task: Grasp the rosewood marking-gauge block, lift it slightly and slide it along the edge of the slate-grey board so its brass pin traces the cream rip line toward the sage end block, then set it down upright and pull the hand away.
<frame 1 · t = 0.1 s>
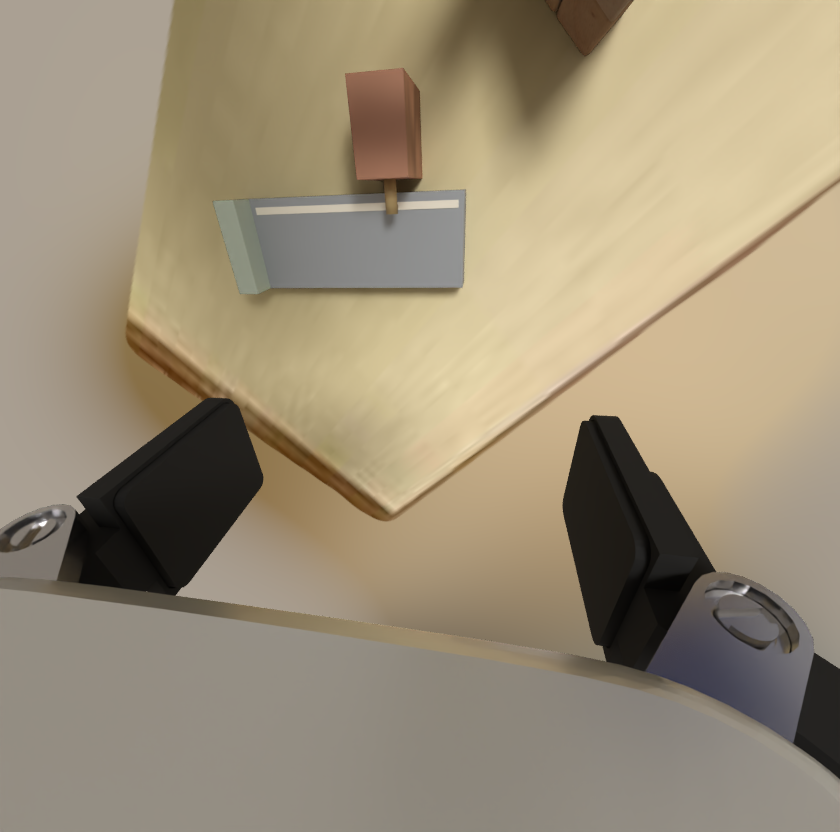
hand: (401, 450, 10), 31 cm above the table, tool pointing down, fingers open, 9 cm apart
gauge block: (398, 138, 32), on the table
grey board: (355, 241, 36), on the table
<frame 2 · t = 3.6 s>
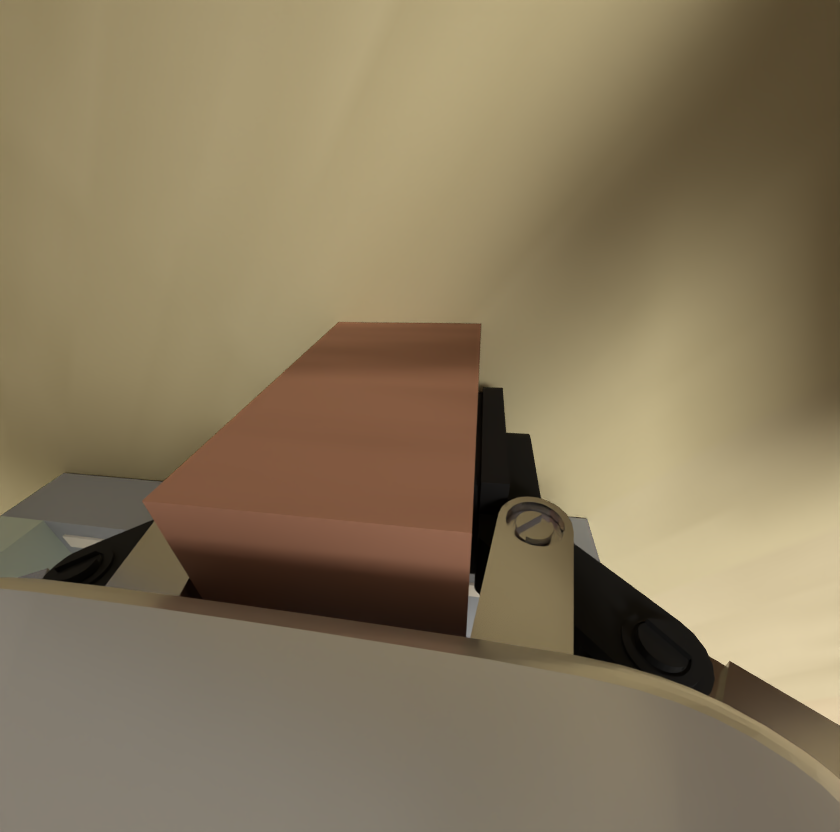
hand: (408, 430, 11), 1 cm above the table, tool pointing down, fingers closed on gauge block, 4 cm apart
gauge block: (413, 415, 12), on the table, touching gripper
grey board: (314, 557, 17), on the table
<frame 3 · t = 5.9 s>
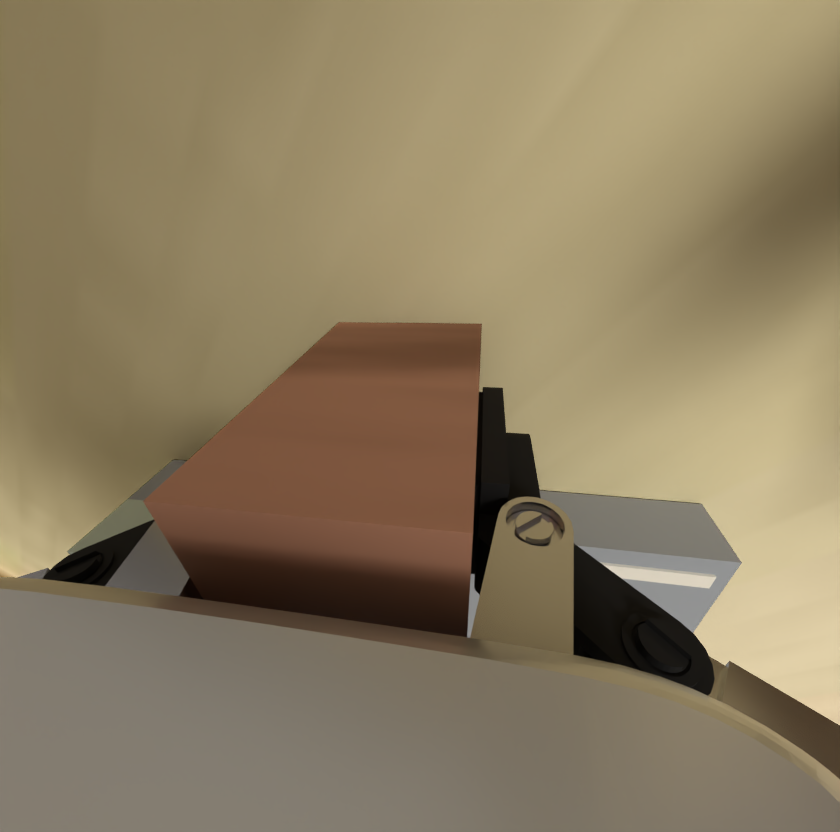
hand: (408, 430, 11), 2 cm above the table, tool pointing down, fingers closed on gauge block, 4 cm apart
gauge block: (413, 415, 12), point 1 cm above the table, touching gripper
grey board: (412, 543, 17), on the table
when the fingers open (2 cm above the table, at t = 8.1 s): gauge block stays where it is, on the table.
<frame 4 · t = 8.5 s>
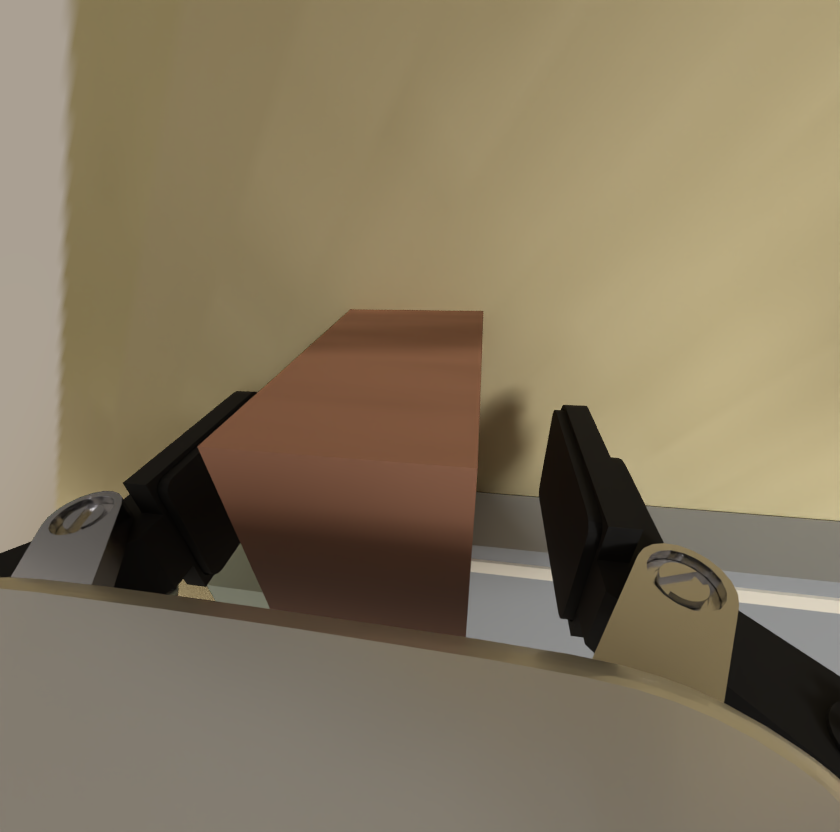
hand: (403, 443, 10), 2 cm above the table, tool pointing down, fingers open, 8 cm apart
gauge block: (418, 398, 12), on the table
grey board: (538, 564, 16), on the table
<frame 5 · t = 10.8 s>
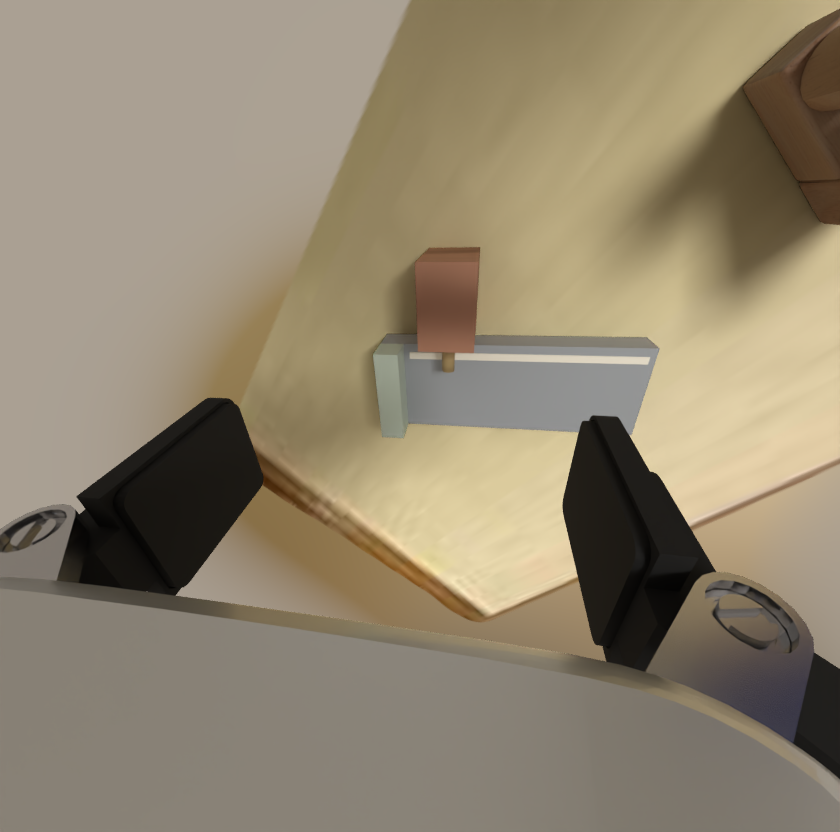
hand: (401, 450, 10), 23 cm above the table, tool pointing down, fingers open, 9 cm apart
gauge block: (453, 287, 30), on the table
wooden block: (811, 134, 22), on the table
grey board: (506, 377, 33), on the table
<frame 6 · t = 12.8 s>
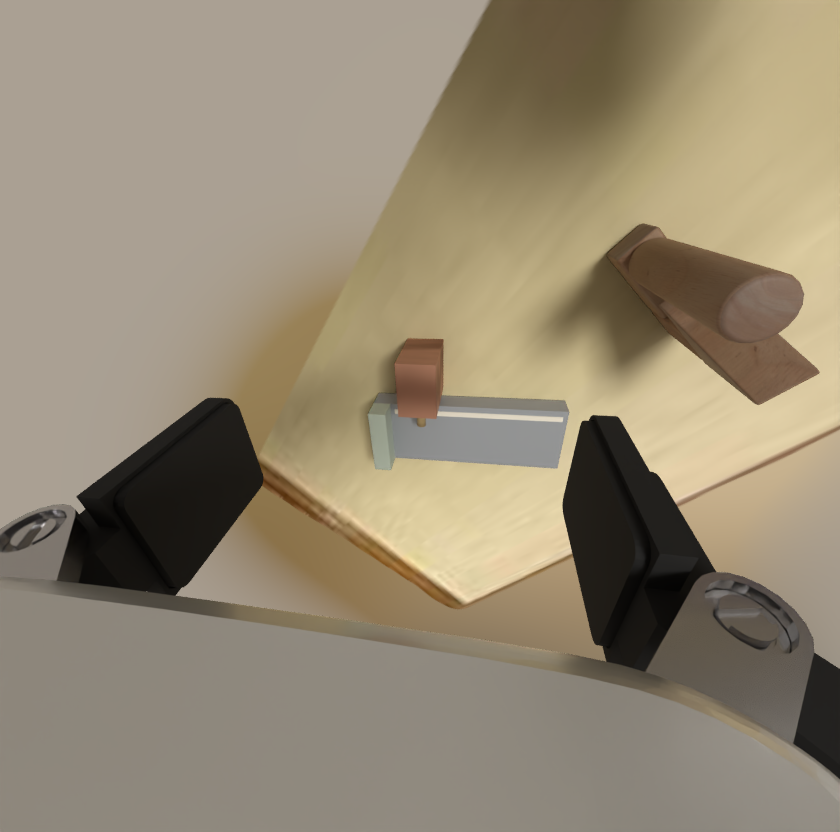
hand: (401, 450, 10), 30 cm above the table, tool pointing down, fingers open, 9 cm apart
gauge block: (426, 363, 42), on the table
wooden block: (655, 281, 34), on the table
grey board: (467, 424, 45), on the table
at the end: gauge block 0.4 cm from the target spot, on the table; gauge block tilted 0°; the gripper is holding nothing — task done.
